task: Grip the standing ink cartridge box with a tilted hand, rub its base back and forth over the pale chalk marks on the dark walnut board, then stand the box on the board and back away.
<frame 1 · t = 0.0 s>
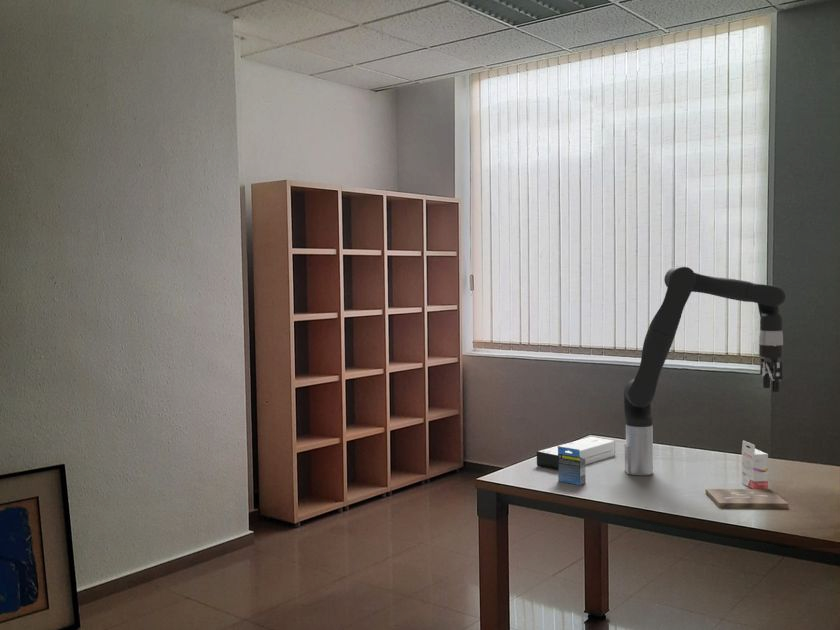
hand: (770, 389, 267), 29 cm above the table, tool pointing down, fingers open, 8 cm apart
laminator: (578, 462, 291), on the table
ink cartridge box: (754, 487, 253), on the table
label tape cartridge: (571, 483, 262), on the table
walnut board: (745, 500, 238), on the table
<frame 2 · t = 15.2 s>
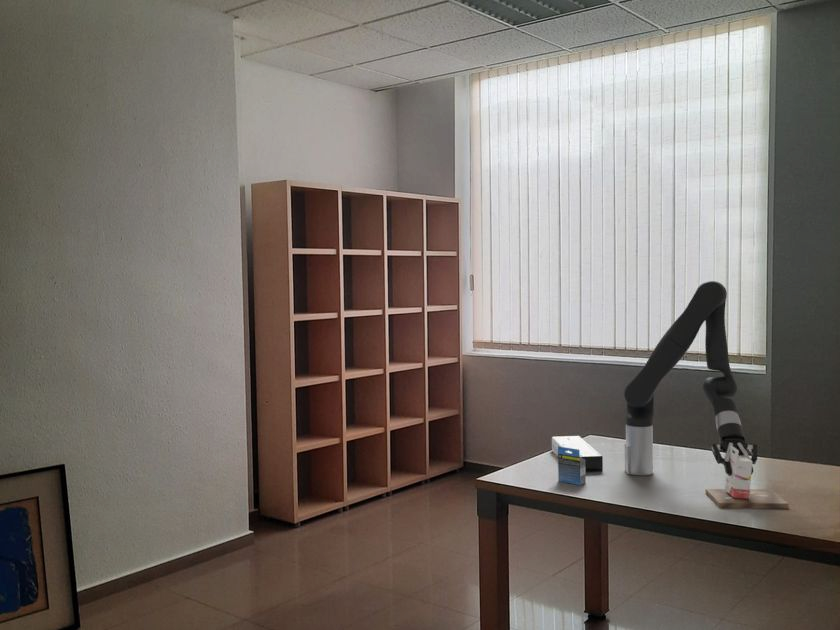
hand: (740, 474, 237), 8 cm above the table, tool tilted 45°, fingers closed on ink cartridge box, 5 cm apart
ink cartridge box: (736, 495, 238), point 2 cm above the table, touching gripper, walnut board
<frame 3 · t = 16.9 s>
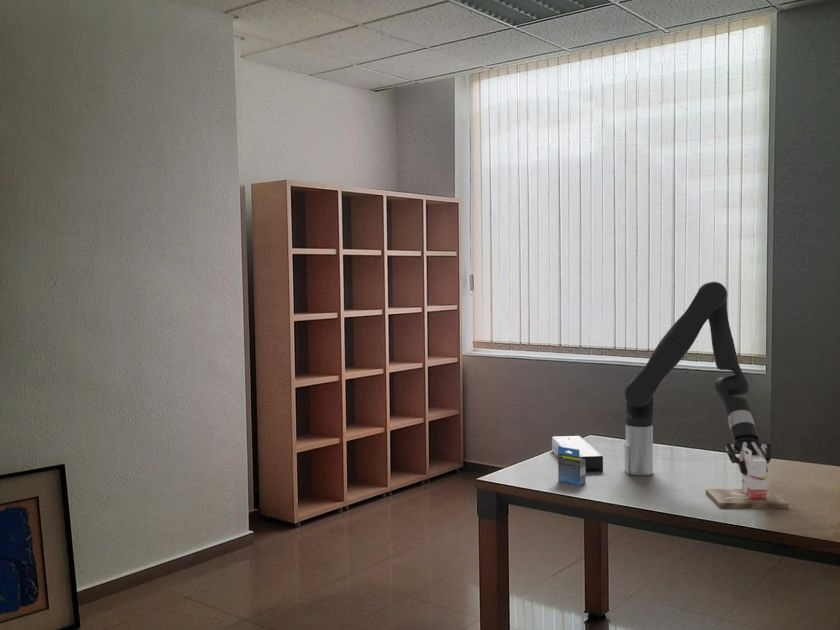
hand: (754, 473, 237), 9 cm above the table, tool tilted 45°, fingers closed on ink cartridge box, 5 cm apart
ink cartridge box: (754, 495, 238), point 1 cm above the table, touching gripper, walnut board
when the fingers open (9 cm above the table, at t = 17.9 s): ink cartridge box stays where it is, resting on walnut board.
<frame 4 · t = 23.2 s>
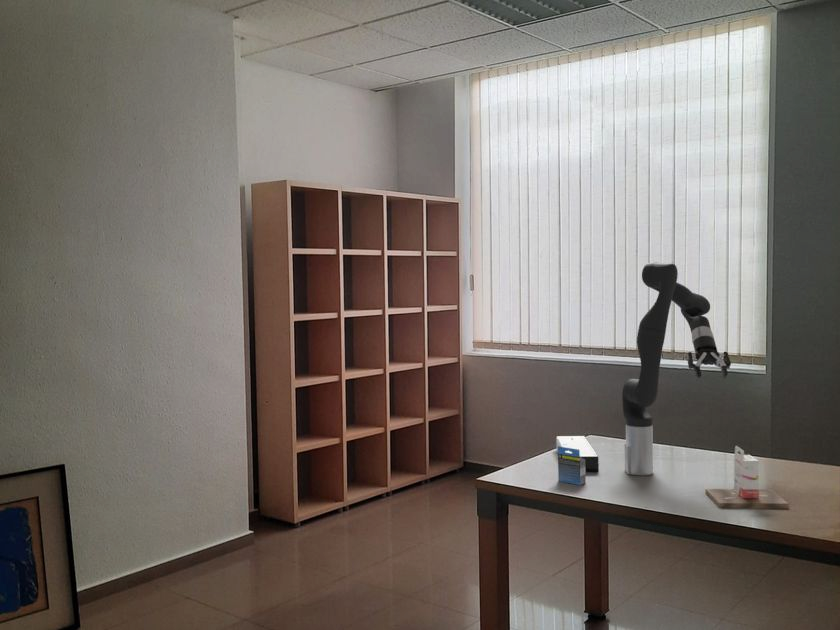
hand: (712, 376, 271), 34 cm above the table, tool tilted 45°, fingers open, 8 cm apart
ink cartridge box: (746, 495, 238), point 1 cm above the table, touching walnut board
at the end: ink cartridge box inside the target area on the walnut board (1.2 cm from its centre), point 1.4 cm above the walnut board's base; ink cartridge box tilted 0°; the gripper is holding nothing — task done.
